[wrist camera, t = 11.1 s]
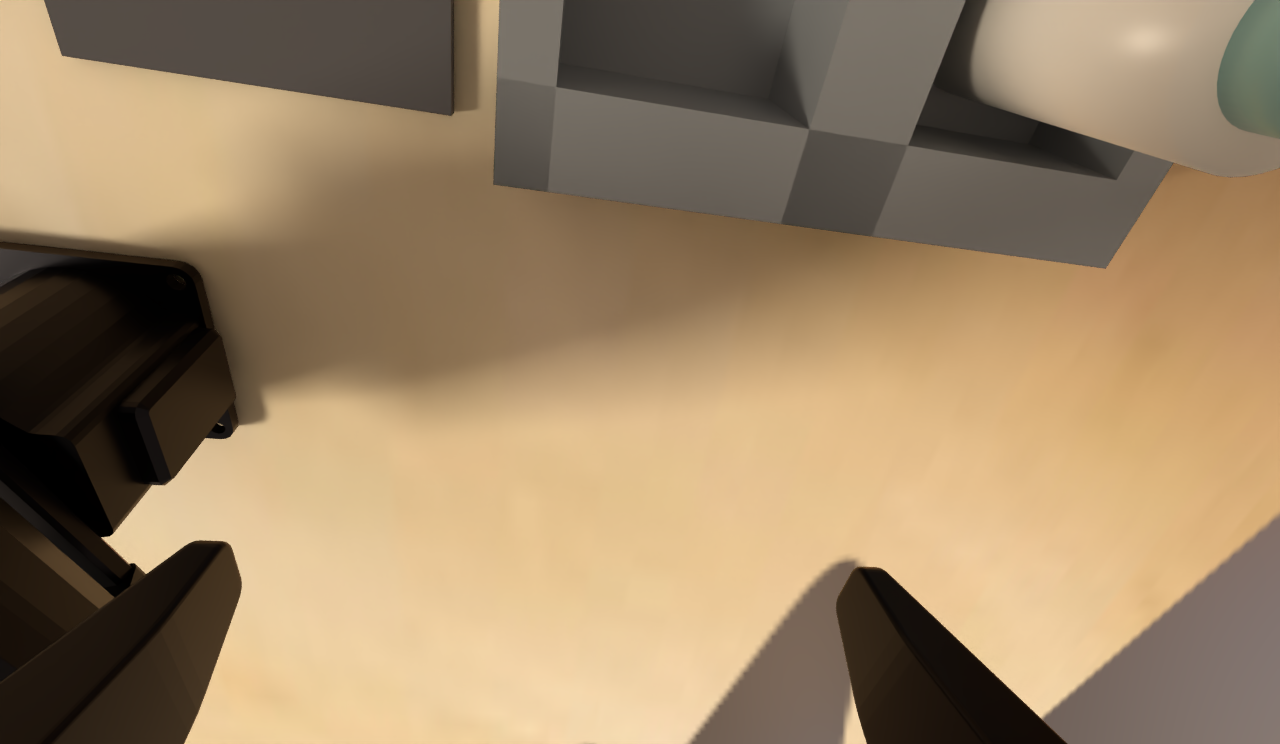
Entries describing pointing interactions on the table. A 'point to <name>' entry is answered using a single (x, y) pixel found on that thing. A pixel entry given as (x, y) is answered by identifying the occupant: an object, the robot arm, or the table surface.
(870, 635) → the robot arm
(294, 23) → the mat
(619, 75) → the socket block
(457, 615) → the table surface
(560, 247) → the table surface
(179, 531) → the table surface
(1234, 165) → the beige and green cylinder
